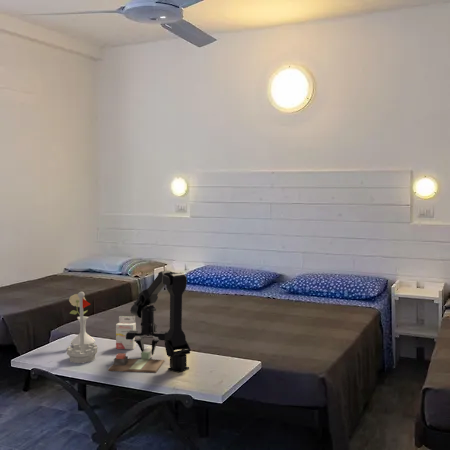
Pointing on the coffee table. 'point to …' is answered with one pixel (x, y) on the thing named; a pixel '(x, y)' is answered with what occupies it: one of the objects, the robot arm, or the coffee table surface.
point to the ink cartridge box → (125, 332)
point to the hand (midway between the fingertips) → (148, 354)
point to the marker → (147, 353)
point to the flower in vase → (76, 302)
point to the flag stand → (82, 340)
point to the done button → (121, 356)
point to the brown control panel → (136, 365)
